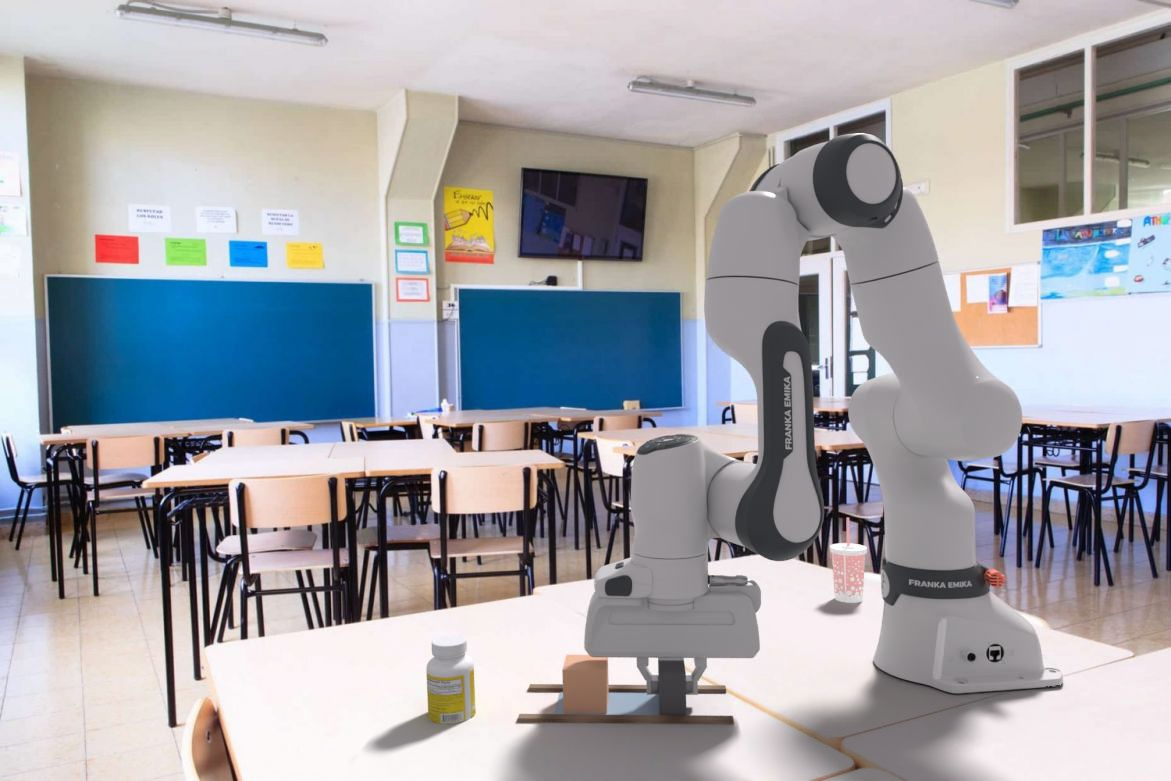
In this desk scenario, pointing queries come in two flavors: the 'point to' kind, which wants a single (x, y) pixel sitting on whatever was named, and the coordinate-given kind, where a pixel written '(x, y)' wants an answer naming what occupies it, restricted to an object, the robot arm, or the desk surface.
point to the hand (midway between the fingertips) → (671, 693)
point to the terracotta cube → (585, 684)
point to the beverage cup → (848, 570)
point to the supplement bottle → (450, 681)
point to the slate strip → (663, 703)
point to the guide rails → (625, 718)
